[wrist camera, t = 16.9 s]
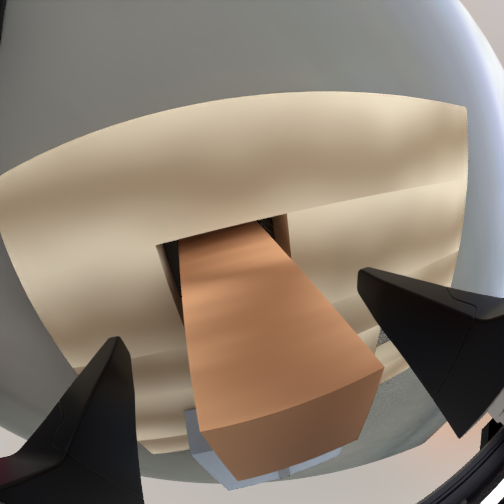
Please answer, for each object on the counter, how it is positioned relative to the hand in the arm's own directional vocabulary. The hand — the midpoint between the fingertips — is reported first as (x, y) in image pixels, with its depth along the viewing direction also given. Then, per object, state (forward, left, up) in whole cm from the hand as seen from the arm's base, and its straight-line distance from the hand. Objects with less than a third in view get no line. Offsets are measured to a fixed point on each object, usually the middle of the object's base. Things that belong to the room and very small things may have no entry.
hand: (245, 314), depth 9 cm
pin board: (+3, +3, -4) cm, 6 cm away
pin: (0, 0, -4) cm, 4 cm away
